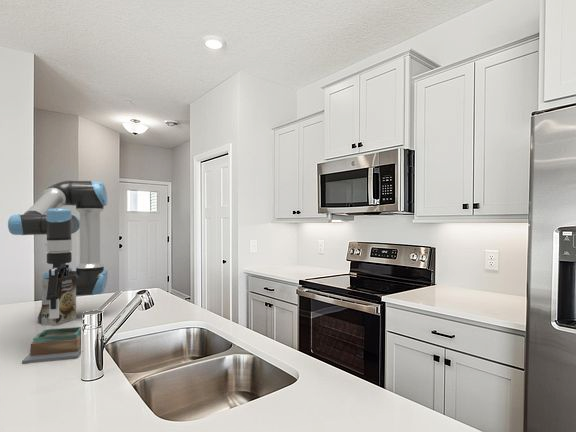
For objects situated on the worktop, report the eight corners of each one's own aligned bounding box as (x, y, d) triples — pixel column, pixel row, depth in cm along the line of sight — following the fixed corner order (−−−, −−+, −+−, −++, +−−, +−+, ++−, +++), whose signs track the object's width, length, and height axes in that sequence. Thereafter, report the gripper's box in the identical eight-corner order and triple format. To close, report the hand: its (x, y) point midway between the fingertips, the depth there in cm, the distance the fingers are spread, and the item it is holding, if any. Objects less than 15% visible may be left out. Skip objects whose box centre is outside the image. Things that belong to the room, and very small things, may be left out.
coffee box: (56, 326, 125) (56, 279, 125) (40, 325, 126) (40, 278, 126) (77, 319, 134) (77, 275, 134) (62, 318, 135) (61, 274, 135)
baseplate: (44, 343, 138) (44, 340, 138) (91, 339, 142) (91, 336, 142) (21, 364, 118) (21, 360, 118) (77, 358, 123) (77, 355, 123)
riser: (43, 344, 134) (43, 329, 134) (86, 340, 138) (85, 325, 138) (30, 356, 122) (30, 339, 122) (77, 351, 126) (77, 335, 126)
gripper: (57, 249, 140) (58, 307, 140) (34, 255, 118) (34, 324, 118) (79, 249, 142) (80, 306, 142) (60, 254, 120) (61, 322, 120)
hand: (59, 314), depth 130 cm, fingers closed on coffee box, 10 cm apart
